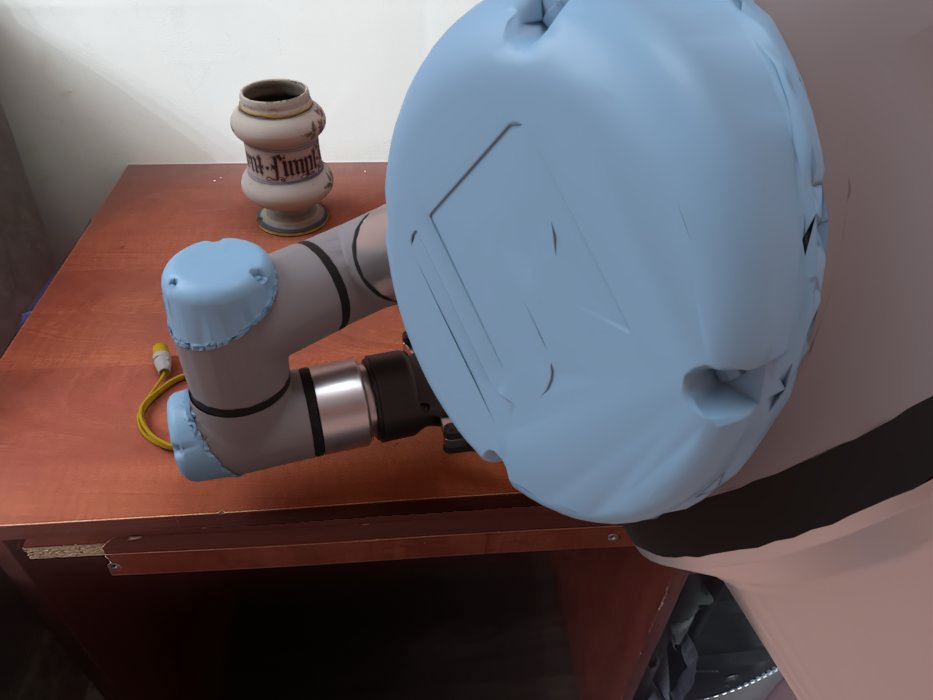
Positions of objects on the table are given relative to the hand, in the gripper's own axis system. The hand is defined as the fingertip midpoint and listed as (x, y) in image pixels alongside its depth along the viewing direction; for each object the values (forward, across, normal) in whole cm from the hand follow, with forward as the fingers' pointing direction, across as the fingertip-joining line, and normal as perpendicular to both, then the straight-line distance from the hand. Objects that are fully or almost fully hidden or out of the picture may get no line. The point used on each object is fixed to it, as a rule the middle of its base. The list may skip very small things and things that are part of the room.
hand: (591, 354), depth 66 cm
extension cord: (-35, -13, -8) cm, 39 cm away
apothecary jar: (-21, -47, -8) cm, 52 cm away
